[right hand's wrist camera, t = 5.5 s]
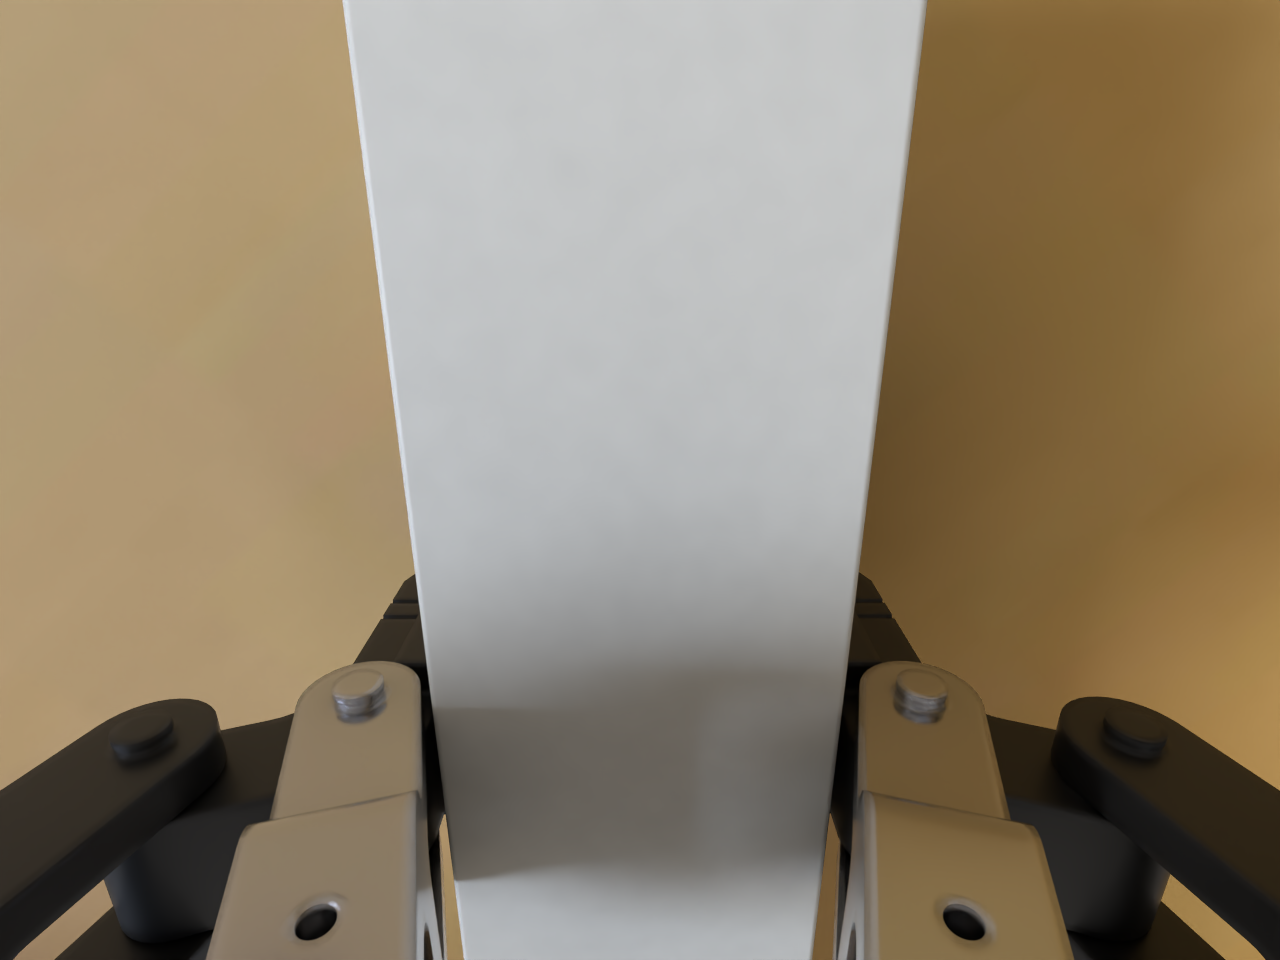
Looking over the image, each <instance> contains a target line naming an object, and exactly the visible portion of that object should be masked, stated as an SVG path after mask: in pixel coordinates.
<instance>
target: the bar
mask: <svg viewBox="0 0 1280 960" xmlns="http://www.w3.org/2000/svg"><path fill="white" fill-rule="evenodd" d="M927 1H928V0H343V8H344V15H345V23H346V31H347V39H348V47H349V55H350V63H351V71H352V79H353V86H354V94H355V102H356V110H357V118H358V126H359V134H360V142H361V150H362V157H363V165H364V173H365V181H366V189H367V197H368V205H369V213H370V221H371V228H372V236H373V244H374V252H375V260H376V268H377V276H378V284H379V292H380V299H381V307H382V315H383V323H384V331H385V339H386V347H387V355H388V363H389V370H390V378H391V386H392V394H393V402H394V410H395V418H396V426H397V434H398V441H399V449H400V457H401V465H402V473H403V481H404V489H405V497H406V505H407V512H408V520H409V528H410V536H411V544H412V552H413V560H414V568H415V576H416V583H417V591H418V599H419V607H420V615H421V623H422V631H423V639H424V647H425V654H426V662H427V670H428V678H429V686H430V694H431V702H432V710H433V718H434V725H435V733H436V741H437V749H438V757H439V765H440V773H441V781H442V789H443V796H444V804H445V812H446V820H447V828H448V836H449V844H450V852H451V860H452V867H453V875H454V883H455V891H456V899H457V907H458V915H459V923H460V931H461V938H462V946H463V954H464V960H812V956H813V947H814V939H815V931H816V922H817V914H818V906H819V897H820V889H821V881H822V873H823V864H824V856H825V848H826V839H827V831H828V823H829V814H830V806H831V798H832V790H833V781H834V773H835V765H836V756H837V748H838V740H839V731H840V723H841V715H842V706H843V698H844V690H845V682H846V673H847V665H848V657H849V648H850V640H851V632H852V623H853V615H854V607H855V599H856V590H857V582H858V574H859V565H860V557H861V549H862V540H863V532H864V524H865V515H866V507H867V499H868V491H869V482H870V474H871V466H872V457H873V449H874V441H875V432H876V424H877V416H878V408H879V399H880V391H881V383H882V374H883V366H884V358H885V349H886V341H887V333H888V324H889V316H890V308H891V300H892V291H893V283H894V275H895V266H896V258H897V250H898V241H899V233H900V225H901V217H902V208H903V200H904V192H905V183H906V175H907V167H908V158H909V150H910V142H911V133H912V125H913V117H914V109H915V100H916V92H917V84H918V75H919V67H920V59H921V50H922V42H923V34H924V25H925V17H926V9H927Z"/></svg>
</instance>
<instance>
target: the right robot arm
mask: <svg viewBox="0 0 1280 960" xmlns="http://www.w3.org/2000/svg"><path fill="white" fill-rule="evenodd" d="M383 616H384V617H383V619H381V620H380V622H379V623H378V625H377V626H376V628H375V630H374V631H373V633H372V634H371V636H370V638H369V639H368V641H367V642H366V644H365V646H364V647H363V649H362V650H361V652H360V654H359V655H358V657H357V659H356V660H355V662H354V663H353V664H352V665H349V666H345V667H342V668H340V669H337V670H335V671H332V672H330V673H328V674H326V675H324V676H323V677H321V678H320V679H318V680H317V681H315V682H314V683H313V684H311V685H310V686H309V687H308V688H307V689H306V690H305V691H304V692H303V693H302V695H301V697H300V698H299V700H298V702H297V705H296V708H295V713H293V714H290V715H287V716H284V717H281V718H277V719H273V720H269V721H264V722H259V723H255V724H250V725H245V726H240V727H235V728H231V729H226V730H220V726H219V722H218V718H217V715H216V712H215V710H214V709H213V708H212V707H211V706H210V705H208V704H207V703H204V702H202V701H199V700H193V699H169V700H163V701H157V702H153V703H149V704H145V705H142V706H139V707H136V708H133V709H131V710H128V711H126V712H123V713H121V714H119V715H117V716H115V717H113V718H111V719H109V720H107V721H105V722H104V723H102V724H100V725H99V726H97V727H96V728H94V729H93V730H91V731H90V732H88V733H87V734H85V735H84V736H82V737H81V738H79V739H78V740H76V741H75V742H73V743H72V744H70V745H68V746H67V747H65V748H64V749H62V750H61V751H59V752H58V753H56V754H55V755H53V756H52V757H50V758H49V759H47V760H46V761H44V762H43V763H41V764H40V765H38V766H37V767H35V768H34V769H32V770H31V771H29V772H28V773H26V774H25V775H23V776H22V777H20V778H19V779H17V780H16V781H14V782H13V783H11V784H10V785H8V786H7V787H5V788H4V789H2V790H1V791H0V960H13V959H14V958H15V957H16V956H17V954H18V953H19V952H20V951H21V950H22V949H24V948H25V947H26V946H27V945H28V944H29V943H30V942H31V941H32V940H34V939H35V938H36V937H37V936H38V935H39V934H41V933H42V932H43V931H44V930H45V929H46V928H48V927H49V926H50V925H51V924H52V923H53V922H54V921H56V920H57V919H58V918H59V917H60V916H61V915H63V914H64V913H65V912H66V911H67V910H68V909H69V908H71V907H72V906H73V905H74V904H75V903H76V902H78V901H79V900H80V899H81V898H82V897H83V896H85V895H86V894H87V893H88V892H89V891H90V890H91V889H93V888H94V887H95V886H96V885H97V884H98V883H100V882H101V881H102V880H103V879H104V882H105V884H106V887H107V890H108V893H109V895H110V898H111V901H112V904H113V907H112V908H111V909H110V910H109V911H107V912H106V913H105V914H104V915H103V916H102V917H101V918H100V919H99V920H98V921H97V922H95V923H94V924H93V925H92V926H91V927H90V928H89V929H88V930H87V931H86V932H84V933H83V934H82V935H81V936H80V937H79V938H78V939H77V940H76V941H75V942H73V943H72V944H71V945H70V946H69V947H68V948H67V949H66V950H65V951H64V952H62V953H61V954H60V955H59V956H58V957H57V958H56V959H55V960H447V941H446V918H445V895H444V872H443V854H442V847H441V839H440V831H439V828H440V825H441V821H442V818H443V815H444V814H446V812H445V804H444V796H443V789H442V781H441V773H440V765H439V757H438V749H437V741H436V733H435V725H434V718H433V710H432V702H431V694H430V686H429V678H428V670H427V662H426V654H425V647H424V639H423V631H422V623H421V615H420V607H419V599H418V591H417V583H416V576H415V574H414V575H413V576H412V577H410V578H409V579H407V580H406V581H404V583H403V585H402V586H401V588H400V589H399V591H398V593H397V594H396V596H395V597H394V599H393V604H390V605H389V607H388V609H387V610H386V612H385V614H384V615H383ZM830 813H831V815H832V818H833V822H834V825H835V828H836V831H837V834H838V837H839V846H838V854H837V871H836V894H835V917H834V940H833V960H1225V959H1224V958H1223V957H1222V956H1221V955H1220V954H1219V953H1217V952H1216V951H1215V950H1214V949H1213V948H1212V947H1211V946H1210V945H1209V944H1208V943H1207V942H1205V941H1204V940H1203V939H1202V938H1201V937H1200V936H1199V935H1198V934H1197V933H1196V932H1194V931H1193V930H1192V929H1191V928H1190V927H1189V926H1188V925H1187V924H1186V923H1185V922H1183V921H1182V920H1181V919H1180V918H1179V917H1178V916H1177V915H1176V914H1175V913H1174V912H1172V911H1171V910H1170V909H1169V908H1168V907H1167V906H1166V905H1165V904H1164V903H1163V902H1162V901H1161V899H1162V896H1163V893H1164V890H1165V888H1166V885H1167V882H1168V879H1169V876H1170V874H1171V875H1172V876H1173V877H1175V878H1176V879H1177V880H1178V881H1179V882H1180V883H1182V884H1183V885H1184V886H1185V887H1186V888H1187V889H1189V890H1190V891H1191V892H1192V893H1193V894H1194V895H1195V896H1197V897H1198V898H1199V899H1200V900H1201V901H1202V902H1204V903H1205V904H1206V905H1207V906H1208V907H1209V908H1210V909H1212V910H1213V911H1214V912H1215V913H1216V914H1217V915H1219V916H1220V917H1221V918H1222V919H1223V920H1224V921H1226V922H1227V923H1228V924H1229V925H1230V926H1231V927H1232V928H1234V929H1235V930H1236V931H1237V932H1238V933H1239V934H1241V935H1242V936H1243V937H1244V938H1245V939H1246V940H1247V941H1249V942H1250V943H1251V944H1252V945H1253V946H1254V947H1255V948H1256V949H1257V950H1258V951H1259V952H1260V953H1261V955H1262V956H1263V957H1264V958H1265V960H1280V791H1279V790H1278V789H1276V788H1275V787H1273V786H1272V785H1270V784H1269V783H1267V782H1266V781H1264V780H1263V779H1261V778H1260V777H1258V776H1257V775H1255V774H1254V773H1252V772H1251V771H1249V770H1248V769H1246V768H1245V767H1243V766H1242V765H1240V764H1239V763H1237V762H1236V761H1234V760H1233V759H1231V758H1230V757H1228V756H1227V755H1225V754H1224V753H1222V752H1221V751H1219V750H1218V749H1216V748H1214V747H1213V746H1211V745H1210V744H1208V743H1207V742H1205V741H1204V740H1202V739H1201V738H1199V737H1198V736H1196V735H1195V734H1193V733H1192V732H1190V731H1189V730H1187V729H1186V728H1184V727H1183V726H1181V725H1180V724H1178V723H1177V722H1175V721H1173V720H1172V719H1170V718H1168V717H1166V716H1164V715H1162V714H1160V713H1158V712H1156V711H1154V710H1151V709H1149V708H1147V707H1144V706H1141V705H1138V704H1135V703H1132V702H1128V701H1124V700H1120V699H1114V698H1108V697H1084V698H1078V699H1076V700H1073V701H1071V702H1069V703H1067V704H1066V705H1065V706H1064V707H1063V708H1062V711H1061V713H1060V717H1059V721H1058V725H1057V729H1056V730H1053V729H1048V728H1044V727H1039V726H1034V725H1029V724H1024V723H1019V722H1015V721H1010V720H1005V719H1001V718H997V717H993V716H990V715H987V714H986V713H985V708H984V705H983V702H982V700H981V698H980V697H979V695H978V694H977V692H976V691H975V690H974V689H973V688H972V687H971V686H970V685H969V684H967V683H966V682H965V681H963V680H962V679H960V678H959V677H957V676H956V675H954V674H952V673H950V672H948V671H945V670H943V669H940V668H938V667H935V666H931V665H928V664H923V663H921V661H920V660H919V658H918V657H917V655H916V653H915V652H914V650H913V648H912V647H911V645H910V643H909V642H908V640H907V639H906V637H905V635H904V634H903V632H902V630H901V629H900V627H899V625H898V624H897V622H896V621H895V619H892V614H891V612H890V611H889V609H888V608H887V606H886V604H885V603H883V602H882V598H881V596H880V594H879V593H878V591H877V590H876V588H875V586H874V585H873V583H872V581H871V580H869V579H868V578H866V577H865V576H864V575H862V574H861V573H859V574H858V582H857V590H856V599H855V607H854V615H853V623H852V632H851V640H850V648H849V657H848V665H847V673H846V682H845V690H844V698H843V706H842V715H841V723H840V731H839V740H838V748H837V756H836V765H835V773H834V781H833V790H832V798H831V806H830Z"/></svg>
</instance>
